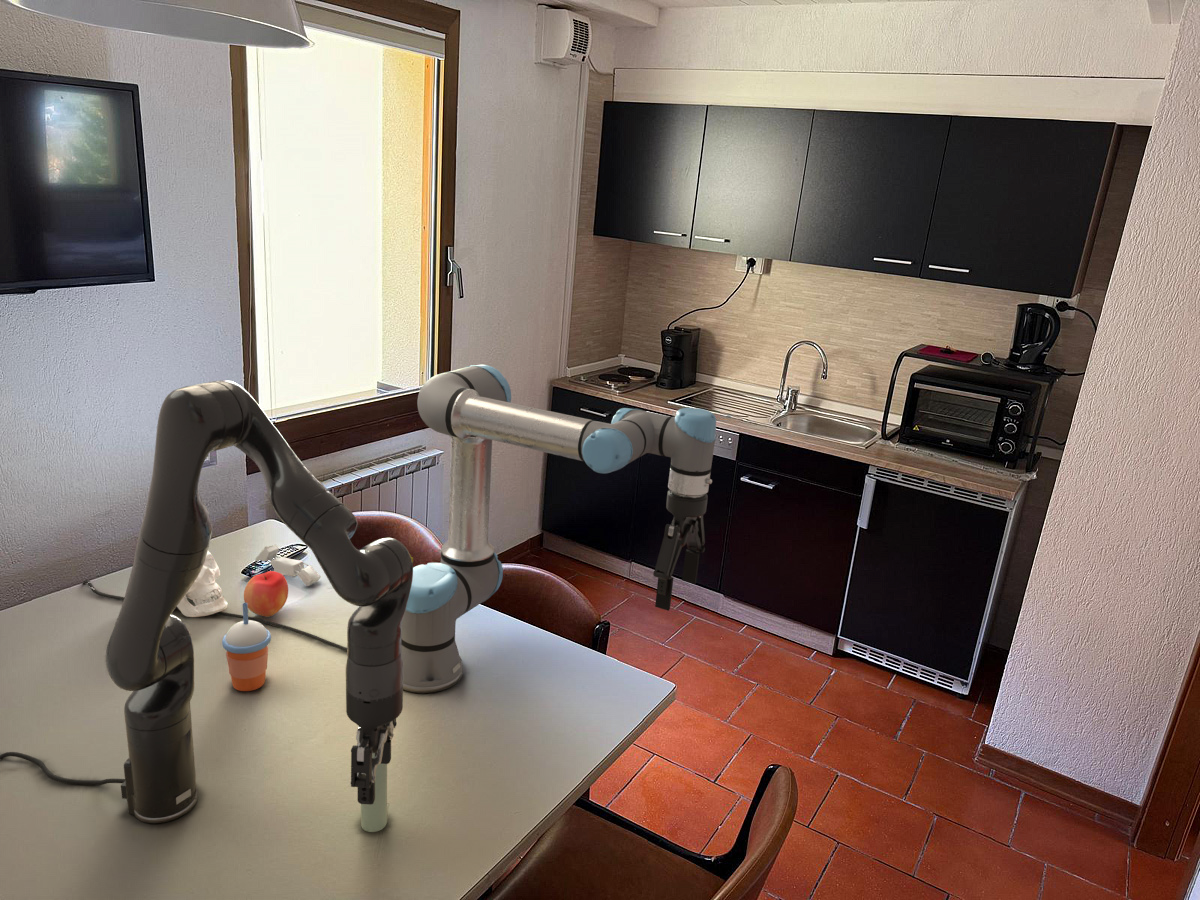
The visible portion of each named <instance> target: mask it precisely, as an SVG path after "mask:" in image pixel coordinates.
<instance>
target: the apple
mask: <svg viewBox="0 0 1200 900" xmlns="http://www.w3.org/2000/svg"><path fill="white" fill-rule="evenodd" d="M288 597H289V584H288V581H287V579H286V577H285V575H282V574H281V573H278V572H275V571H268V570H267V571H266V572H264V573H259V574H255V575H254V576H253V577H251V578H250V579H249V580H248V582H247V583H246V585H245V587H244V590H243V601H244V603H247V605H248V611H250V612H252V613H253V614H255V615H257V616H261V617H265V618H269V617H273V616H275V615H276V614H278V613H279V612H280V611H281V610H282V609H283V607H284V606H285V605H286V603H287V600H288Z"/></svg>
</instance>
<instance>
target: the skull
mask: <svg viewBox="0 0 1200 900" xmlns="http://www.w3.org/2000/svg"><path fill="white" fill-rule="evenodd" d="M220 577H221V571H220V568H219V565H218V564H217V561H216V559H215V558H214V556H213V554H212V553H211V552H210V551H209V550H208V551H207V555H206V558H205V562H204V565H203V567H202V569H201V571H200V573H199V575H198V577H197V578H196V580H195V582H194V583H193V585H192V586H191V587H190V589H189V590H188V592H187V593H186V594H185V596H184V597H183V599H182V600H181V601H180V603H179V604H178V605H177V607H178V608H179V609H178V610H179V611H180V612H181V614H182V615H183V616H185V617H187V618H189V617H190V618H198V617H199V618H200V617H205V616H210V615H215V614H214V613H217V612H223V611H225V610H226V609H227V608H228V605H229V603H228V601H227V600H226V599H225V597H224V595H223V593H222V591H223V590H222V588H221V587H220V585H219V584H218V583H217V582H216V579H219V578H220ZM188 599H189V600H190V601H192V602H193V603H194V605H193V604H192V603H190V602H189V600H188ZM184 613H185V614H184ZM194 614H196V615H194Z"/></svg>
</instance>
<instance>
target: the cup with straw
mask: <svg viewBox="0 0 1200 900" xmlns="http://www.w3.org/2000/svg"><path fill="white" fill-rule="evenodd" d="M242 615H243V619H242V620H240V621H238V622H236V623H234V624H233V625H232V626H230V627H229V629H228V630H227V632H226V633H225V634H224V635H223V637H222V640H221V645H222V647H223V649H224V650H225V656H226V661H227V667H228V673H229V675H230V679H231V684H232V687H233V688H234V690H236V691H240V692H250V691H251V692H252V691H255V690H258V689H259V688H261V687H262V686H263V685H264V684H265V682H266V675H267V669H268V660H269V644H270V643H271V641H272V634H271V632H270V631H269V630H268V629H267V628H266V627H265V626H264V625H263V623H261V622H257V621H253V620H248V617H249V609H248V605H247V603H245V602H243V603H242Z"/></svg>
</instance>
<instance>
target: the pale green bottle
mask: <svg viewBox="0 0 1200 900" xmlns="http://www.w3.org/2000/svg"><path fill="white" fill-rule="evenodd" d="M372 758H375V753H373V756H372ZM387 823H388V764H381V763H380V764H379V765H377V769H376V779H375V801H374V803H373V804H371V805H369V804H360V826H361V828H362V830H363V831H365V832H367V833H377V832H379V831H381V830H383V829H384V828H385V827H386V826H387Z"/></svg>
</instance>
